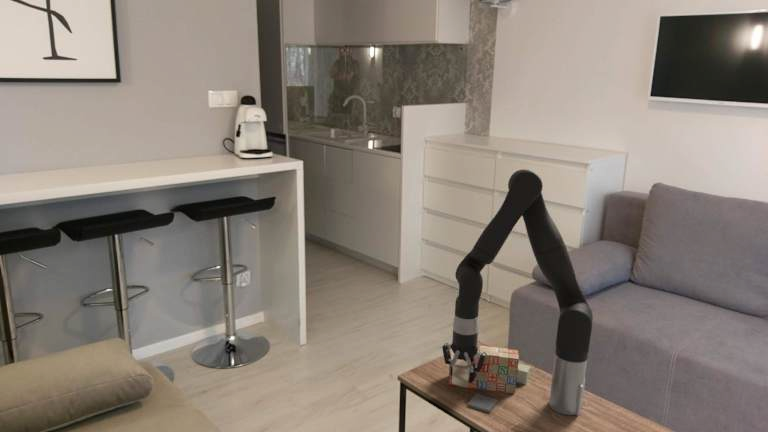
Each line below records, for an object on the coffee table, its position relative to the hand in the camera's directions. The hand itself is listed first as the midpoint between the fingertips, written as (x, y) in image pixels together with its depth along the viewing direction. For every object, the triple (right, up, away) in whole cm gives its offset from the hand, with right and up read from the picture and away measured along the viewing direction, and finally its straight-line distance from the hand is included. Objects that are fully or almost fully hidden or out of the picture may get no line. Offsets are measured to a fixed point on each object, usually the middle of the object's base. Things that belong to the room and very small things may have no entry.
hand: (462, 379), depth 182 cm
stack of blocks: (+7, -4, +8) cm, 11 cm away
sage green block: (+21, -3, +12) cm, 24 cm away
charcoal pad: (+6, -7, -4) cm, 9 cm away
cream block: (0, -1, 0) cm, 1 cm away
